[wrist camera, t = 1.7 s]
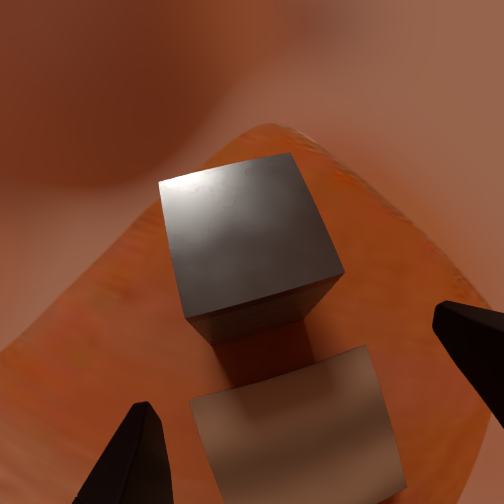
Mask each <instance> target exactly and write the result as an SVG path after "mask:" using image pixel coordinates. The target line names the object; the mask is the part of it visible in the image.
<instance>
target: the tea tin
mask: <svg viewBox="0 0 504 504" xmlns="http://www.w3.org/2000/svg"><path fill="white" fill-rule="evenodd" d="M159 188H160V195H161V201H162V207H163V214H164V219H165V225H166V231H167V236H168V242H169V247H170V252H171V257H172V262H173V267H174V272H175V277H176V282H177V286H178V291H179V295H180V300H181V304H182V308H183V313H184V317H185V319H186V320H187V321H188V322H189V323H190V324H191V325H192V326H193V327H194V328H195V329H196V330H197V332H198V333H199V334H200V335H201V336H202V337H203V338H204V339H205V340H206V341H207V342H208V343H209V344H210V345H211V346H212V345H216V344H220V343H223V342H227V341H231V340H235V339H238V338H242V337H245V336H249V335H252V334H256V333H259V332H263V331H266V330H269V329H273V328H276V327H279V326H283V325H286V324H289V323H292V322H295V321H298V320H302V319H304V318H305V316H306V315H307V314H308V313H309V312H310V311H311V310H312V309H313V308H314V307H315V306H316V305H317V303H318V302H319V301H320V300H321V299H322V298H323V297H324V296H325V295H326V293H327V292H328V291H329V290H330V289H331V288H332V287H333V286H334V284H335V283H336V282H337V281H338V280H339V279H340V278H341V276H342V275H343V274H344V273H345V271H344V269H343V266H342V264H341V262H340V259H339V257H338V254H337V252H336V250H335V247H334V245H333V243H332V240H331V238H330V236H329V234H328V231H327V229H326V227H325V224H324V222H323V220H322V218H321V216H320V213H319V211H318V209H317V207H316V205H315V203H314V200H313V198H312V196H311V194H310V192H309V190H308V188H307V186H306V184H305V181H304V179H303V177H302V175H301V173H300V171H299V169H298V167H297V165H296V163H295V161H294V159H293V157H292V155H291V153H285V154H279V155H274V156H268V157H263V158H258V159H253V160H248V161H244V162H239V163H234V164H230V165H225V166H221V167H216V168H212V169H208V170H204V171H200V172H196V173H192V174H188V175H184V176H180V177H176V178H173V179H169V180H165V181H162V182H159Z"/></svg>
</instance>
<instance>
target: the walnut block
mask: <svg viewBox="0 0 504 504" xmlns="http://www.w3.org/2000/svg"><path fill="white" fill-rule="evenodd" d="M189 402H190V405H191V409H192V412H193V415H194V418H195V422H196V425H197V428H198V431H199V434H200V437H201V440H202V443H203V446H204V449H205V452H206V455H207V458H208V460H209V463H210V466H211V469H212V471H213V474H214V477H215V479H216V482H217V485H218V487H219V490H220V492H221V495H222V497H223V500H224V502H225V504H377V503H379V502H381V501H383V500H385V499H387V498H389V497H391V496H393V495H394V494H396V493H398V492H400V491H402V490H403V489H405V488H407V485H406V481H405V476H404V472H403V468H402V464H401V460H400V456H399V452H398V448H397V444H396V441H395V437H394V433H393V430H392V426H391V423H390V419H389V416H388V412H387V409H386V406H385V402H384V399H383V396H382V392H381V389H380V386H379V383H378V380H377V377H376V374H375V371H374V368H373V365H372V362H371V359H370V356H369V353H368V350H367V347H366V345H363V346H360V347H357V348H354V349H351V350H348V351H346V352H343V353H341V354H338V355H335V356H333V357H330V358H327V359H325V360H322V361H319V362H317V363H314V364H311V365H308V366H305V367H302V368H299V369H296V370H293V371H290V372H287V373H284V374H281V375H278V376H275V377H271V378H268V379H265V380H261V381H258V382H255V383H251V384H248V385H244V386H240V387H237V388H233V389H229V390H225V391H221V392H217V393H213V394H209V395H205V396H200V397H196V398H194V399H191V400H189Z"/></svg>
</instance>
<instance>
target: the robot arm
mask: <svg viewBox="0 0 504 504" xmlns="http://www.w3.org/2000/svg"><path fill="white" fill-rule="evenodd" d="M432 328H433V331H434V333H435V334H436V335H437V337H438V338H439V340H440V341H441V343H442V344H443V346H444V347H445V349H446V350H447V352H448V354H449V355H450V357H451V358H452V360H453V361H454V363H455V364H456V365H457V367H458V368H459V369H460V371H461V372H462V373H463V374H464V376H465V377H466V378H467V379H468V381H469V382H470V383H471V385H472V386H473V387H474V389H475V390H476V391H477V393H478V394H479V395H480V396H481V398H482V399H483V401H484V402H485V403H486V405H487V406H488V407H489V409H490V410H491V411H492V413H493V414H494V416H495V417H496V418H497V420H498V421H499V423H500V424H501V426H502V427H503V428H504V313H501V312H496V311H492V310H487V309H483V308H479V307H474V306H470V305H465V304H461V303H456V302H452V301H443V302H441V303H439V304H437V305H436V307H435V312H434V317H433V323H432ZM77 496H78V497H75V499H74V501H73V502H72V504H174V502H173V492H172V481H171V471H170V465H169V460H168V455H167V450H166V445H165V439H164V433H163V427H162V423H161V420H160V418H159V417H158V415H157V414H156V412H155V411H154V409H153V407H152V406H151V404H150V403H149V402H147V401H145V402H139V403H135V404H133V405H132V407H131V408H130V410H129V412H128V413H127V415H126V416H125V418H124V420H123V421H122V423H121V424H120V426H119V427H118V429H117V431H116V432H115V434H114V435H113V437H112V439H111V440H110V442H109V444H108V445H107V447H106V448H105V450H104V452H103V453H102V455H101V456H100V458H99V460H98V461H97V463H96V465H95V466H94V468H93V469H92V471H91V473H90V474H89V476H88V478H87V479H86V481H85V483H84V484H83V486H82V487H81V489H80V491H79V492H78V494H77Z"/></svg>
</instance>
